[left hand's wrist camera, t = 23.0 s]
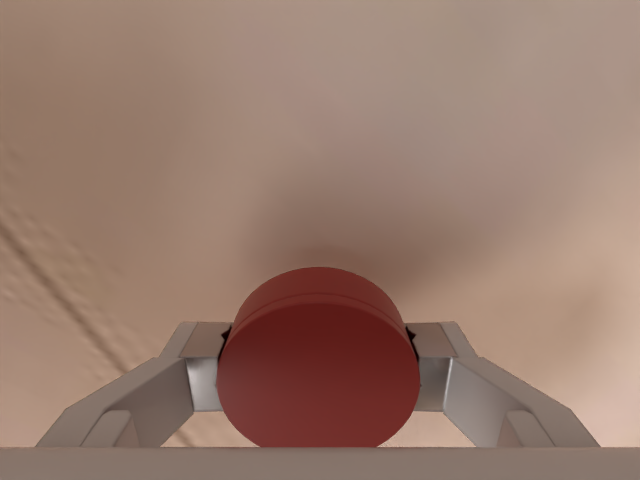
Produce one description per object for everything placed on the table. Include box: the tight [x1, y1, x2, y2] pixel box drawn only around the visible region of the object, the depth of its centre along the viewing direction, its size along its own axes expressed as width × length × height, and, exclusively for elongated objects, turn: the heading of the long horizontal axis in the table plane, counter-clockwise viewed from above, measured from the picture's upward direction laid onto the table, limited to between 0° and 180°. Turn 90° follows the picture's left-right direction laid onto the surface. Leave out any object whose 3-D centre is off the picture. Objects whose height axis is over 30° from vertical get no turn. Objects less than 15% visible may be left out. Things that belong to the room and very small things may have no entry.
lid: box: [216, 267, 420, 447], centre depth 10 cm, size 5×5×2 cm
